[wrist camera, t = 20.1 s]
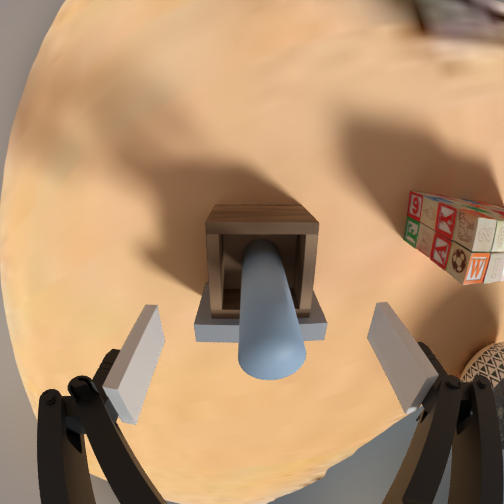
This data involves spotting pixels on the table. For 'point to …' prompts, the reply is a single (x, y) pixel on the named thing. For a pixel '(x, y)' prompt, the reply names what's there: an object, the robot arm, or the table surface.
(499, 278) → the stack of blocks
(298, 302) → the slider block
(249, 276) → the dowel
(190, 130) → the table surface
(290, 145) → the table surface
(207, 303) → the wall
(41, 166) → the table surface
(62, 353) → the table surface
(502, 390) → the planter
